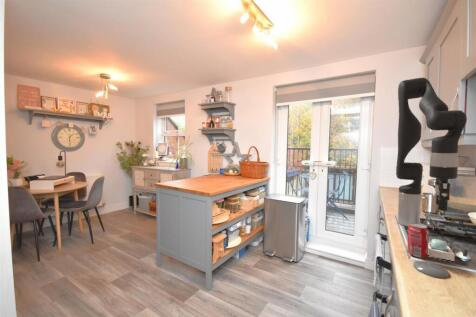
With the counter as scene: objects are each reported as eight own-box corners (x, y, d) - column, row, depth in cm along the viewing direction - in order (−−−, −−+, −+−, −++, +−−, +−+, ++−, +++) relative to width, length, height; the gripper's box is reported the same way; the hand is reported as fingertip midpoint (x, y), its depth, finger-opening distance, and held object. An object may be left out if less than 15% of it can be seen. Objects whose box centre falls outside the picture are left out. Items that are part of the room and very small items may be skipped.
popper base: (424, 249, 87) (425, 242, 87) (448, 253, 83) (448, 246, 83) (428, 257, 81) (429, 249, 81) (454, 262, 77) (454, 254, 77)
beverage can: (422, 252, 85) (423, 223, 84) (431, 260, 79) (433, 229, 78) (403, 250, 86) (405, 221, 86) (411, 258, 80) (413, 227, 80)
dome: (429, 247, 85) (430, 238, 85) (444, 250, 83) (445, 240, 83) (432, 252, 81) (433, 242, 81) (448, 255, 79) (448, 245, 79)
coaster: (411, 260, 79) (411, 258, 79) (444, 267, 75) (444, 265, 74) (415, 272, 72) (415, 270, 72) (452, 281, 67) (452, 279, 67)
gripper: (428, 162, 87) (426, 201, 88) (431, 166, 76) (429, 210, 77) (454, 163, 82) (452, 204, 83) (461, 167, 71) (458, 214, 72)
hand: (441, 207), depth 80 cm, fingers open, 8 cm apart
